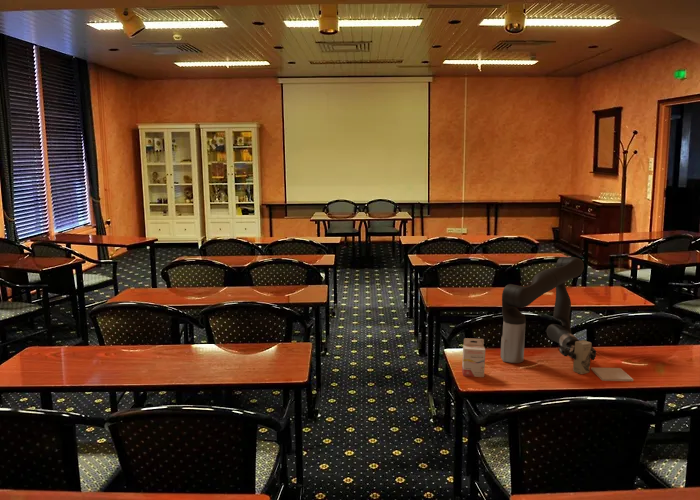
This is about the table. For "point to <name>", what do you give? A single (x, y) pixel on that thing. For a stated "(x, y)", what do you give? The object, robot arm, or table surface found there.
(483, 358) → the ink cartridge box
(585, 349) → the box
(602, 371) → the board
